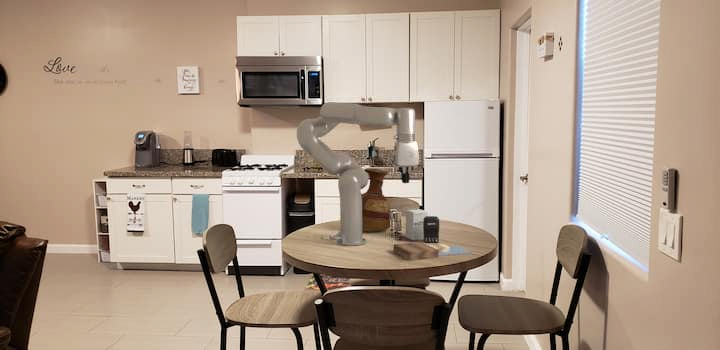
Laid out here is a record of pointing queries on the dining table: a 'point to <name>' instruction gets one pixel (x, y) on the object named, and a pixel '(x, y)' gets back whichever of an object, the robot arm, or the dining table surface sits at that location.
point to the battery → (431, 229)
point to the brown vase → (375, 203)
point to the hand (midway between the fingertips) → (405, 182)
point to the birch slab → (441, 248)
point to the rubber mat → (454, 251)
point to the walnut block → (415, 251)
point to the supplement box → (415, 224)
